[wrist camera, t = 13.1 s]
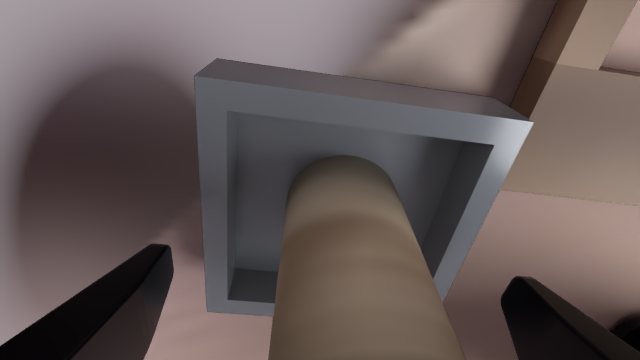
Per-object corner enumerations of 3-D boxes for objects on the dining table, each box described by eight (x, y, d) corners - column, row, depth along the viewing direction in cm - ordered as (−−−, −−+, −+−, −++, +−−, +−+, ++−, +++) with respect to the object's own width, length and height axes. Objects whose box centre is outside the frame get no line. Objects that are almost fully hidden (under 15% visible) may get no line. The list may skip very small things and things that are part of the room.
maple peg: (381, 249, 12) (436, 456, 7) (282, 240, 11) (258, 450, 6) (409, 162, 10) (516, 355, 5) (292, 148, 10) (269, 339, 4)
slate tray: (414, 284, 14) (429, 327, 12) (220, 268, 13) (206, 312, 11) (493, 97, 10) (533, 121, 8) (216, 58, 9) (194, 75, 7)
